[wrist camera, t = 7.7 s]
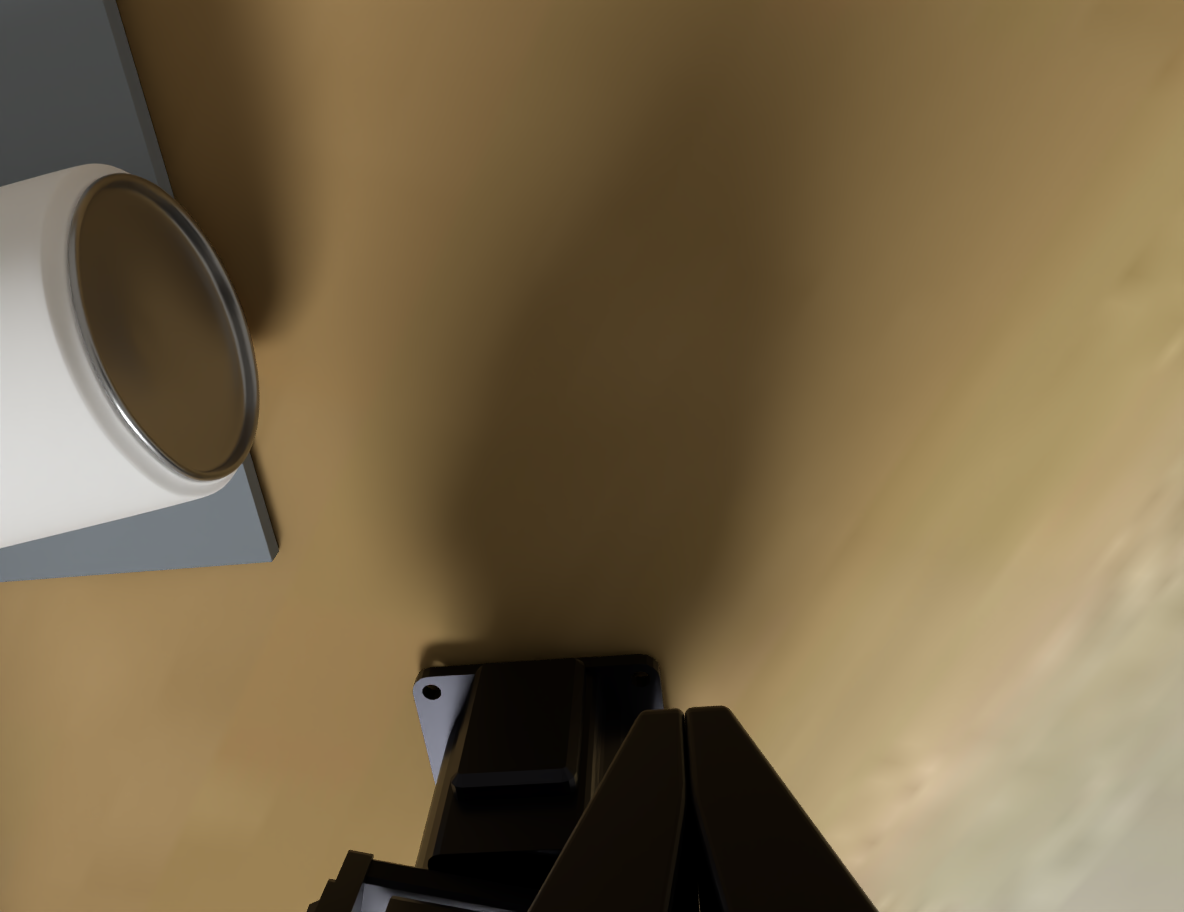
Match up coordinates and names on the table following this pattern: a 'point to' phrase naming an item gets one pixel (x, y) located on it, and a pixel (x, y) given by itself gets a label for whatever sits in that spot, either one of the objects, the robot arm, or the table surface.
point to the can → (114, 355)
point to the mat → (127, 141)
